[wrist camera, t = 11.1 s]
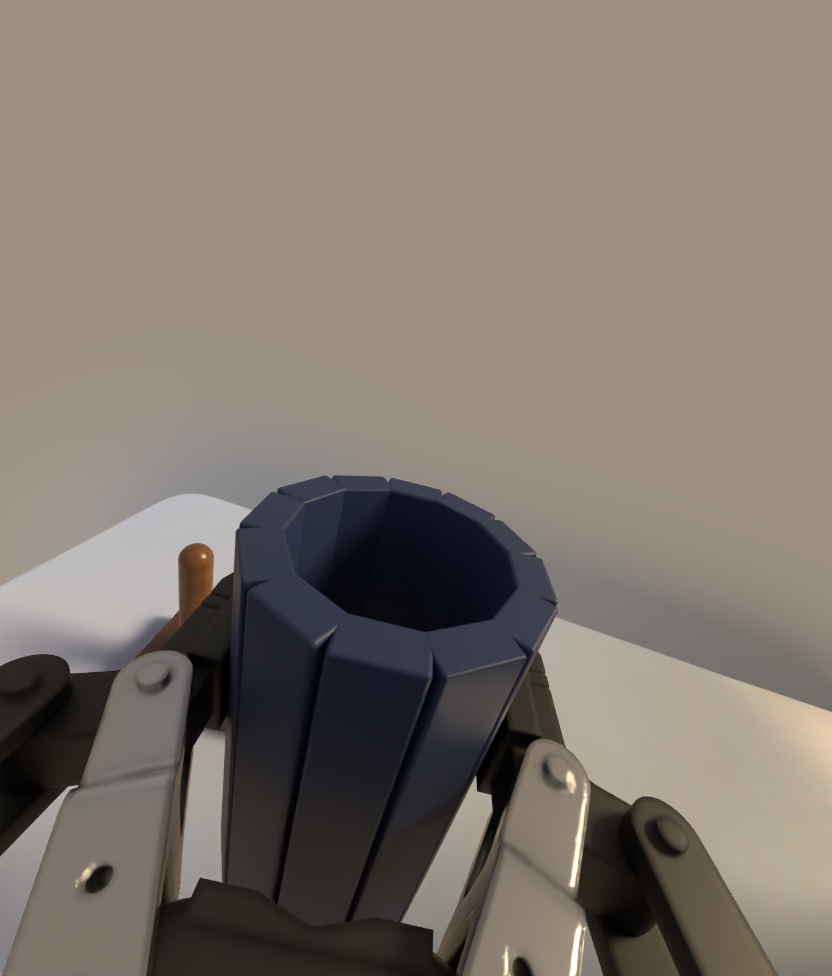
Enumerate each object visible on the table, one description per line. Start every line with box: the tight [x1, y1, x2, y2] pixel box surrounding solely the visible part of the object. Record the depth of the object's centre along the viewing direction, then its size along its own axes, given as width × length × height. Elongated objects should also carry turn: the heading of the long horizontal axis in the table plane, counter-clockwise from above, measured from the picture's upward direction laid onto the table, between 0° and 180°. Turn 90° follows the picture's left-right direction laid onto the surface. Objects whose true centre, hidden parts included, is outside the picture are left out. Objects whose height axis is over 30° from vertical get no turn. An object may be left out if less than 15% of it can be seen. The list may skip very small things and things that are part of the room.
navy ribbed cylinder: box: [221, 475, 558, 926], centre depth 10 cm, size 6×6×10 cm
